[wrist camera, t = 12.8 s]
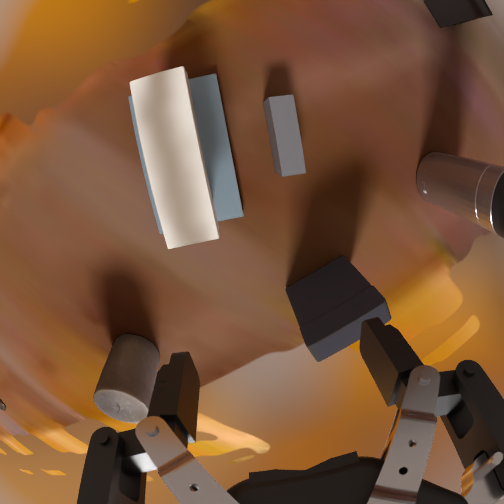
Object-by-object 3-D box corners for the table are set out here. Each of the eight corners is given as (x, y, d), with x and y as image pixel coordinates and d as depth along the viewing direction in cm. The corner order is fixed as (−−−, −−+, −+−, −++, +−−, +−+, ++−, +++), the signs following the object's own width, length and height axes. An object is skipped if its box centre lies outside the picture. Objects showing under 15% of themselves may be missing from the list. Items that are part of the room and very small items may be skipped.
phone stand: (439, 27, 29) (481, 15, 18) (423, 1, 26) (462, -16, 15) (461, 23, 27) (500, 14, 16) (447, -1, 25) (484, -14, 14)
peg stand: (216, 75, 32) (214, 58, 24) (242, 213, 40) (247, 232, 32) (131, 98, 32) (108, 89, 24) (162, 230, 40) (147, 253, 32)
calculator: (294, 304, 47) (319, 366, 33) (282, 285, 45) (306, 347, 31) (350, 271, 45) (394, 323, 31) (341, 251, 44) (386, 300, 30)
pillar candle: (103, 342, 47) (79, 401, 33) (138, 326, 46) (117, 390, 32) (135, 374, 50) (120, 432, 37) (170, 361, 49) (161, 424, 36)
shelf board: (187, 72, 24) (183, 65, 22) (219, 229, 32) (218, 238, 29) (138, 86, 24) (129, 81, 22) (172, 239, 31) (168, 249, 29)
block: (284, 99, 34) (293, 94, 29) (296, 168, 38) (305, 172, 33) (263, 102, 34) (268, 97, 29) (275, 172, 38) (282, 176, 33)
